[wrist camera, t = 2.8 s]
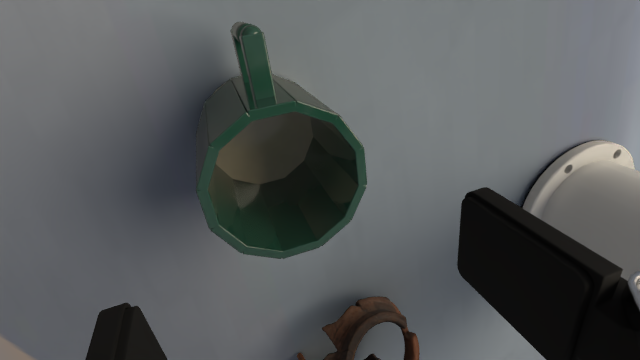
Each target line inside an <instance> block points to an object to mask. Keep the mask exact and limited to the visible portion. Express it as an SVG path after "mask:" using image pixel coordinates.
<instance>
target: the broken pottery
mask: <svg viewBox="0 0 640 360" xmlns="http://www.w3.org/2000/svg"><path fill="white" fill-rule="evenodd" d="M383 322H392V323H395V324H396V325H398V326H399V327H400V328H401V330H402V333H403V336H404V341H405V354H404V360H419V343H418V339H417V336H416V334H415V333H412V332H409V331H408V328H407V322H406V318H405V317H404V316H403V315H401V313H400V311H399V310H398V308H397V307H396V306H395V305H394V304H393V303H392V302H391V301H390V300H389V299H388V298H386V297H368V298H365V299H360V300H358V301H357V302H356V306H350V307H349V308H348V309H347V310H346V311H345V313H344V314H343V315H342V316H341V317H340V318H339V319H338V320H337V321H336V322H334V323H332V324H329V325H326V326H324V327H323V328H322V329H323V331H325V332H326V334H327V335H328V336H329V338H330V340H331V341H332V342H333V344H334V345H335V347H336V349H337V352H335V353H330V354H328V355H327V356H326V357H325V358H324V359H323V360H354V356H355V351H356V349H357V347H358V345H359V343H360V341H361V339H362V338H363V336H364V335H365V334H366V333H367V331H368V330H369V329H371V328H372V327H373V326H375V325H377V324H380V323H383ZM297 357H298V359H299V360H305V359H304V357H303V355H302V354H301V353H298V354H297ZM364 360H381V359H379V358H377V357H376V356H375V355H374V354H370V355H369V356H368V357H367V358H366V359H364Z"/></svg>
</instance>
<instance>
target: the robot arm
mask: <svg viewBox="0 0 640 360" xmlns="http://www.w3.org/2000/svg"><path fill="white" fill-rule="evenodd" d="M457 266H458V270H459V273H460V274H461V276H462V277H463V278H464V279H465V280H466V281H467V282H468V283H469V284H470V285H471V286H472V287H473V288H474V289H475V290H476V291H477V292H478V293H479V294H480V295H481V296H482V297H483V298H484V299H485V300H486V301H487V302H488V303H489V304H490V305H491V306H492V307H493V308H494V309H495V310H496V311H497V312H498V313H499V314H500V315H502V316H503V317H504V318H505V319H506V320H507V321H508V322H509V323H510V324H511V325H512V326H513V327H514V328H515V329H516V330H517V331H518V332H519V333H520V334H521V335H522V336H523V337H524V338H525V339H526V340H527V341H528V342H529V343H530V344H531V345H532V346H533V347H534V348H535V349H536V350H537V351H538V352H539V353H540V354H541V355H542V356H543V357H544V358H545V359H546V360H640V172H639V171H636V170H635V167H634V163H633V158H632V156H631V155H630V153H629V151H628V150H627V149H625V148H624V147H623V146H620V145H618V144H615V143H612V142H609V141H604V140H599V141H591V142H587V143H584V144H581V145H579V146H577V147H575V148H573V149H571V150H569V151H568V152H566V153H565V154H564V155H562V156H561V157H559V158H558V159H557V160H556V161H555V162H554V163H552V164H551V165H550V166H549V167H548V168H547V169H546V170H545V172H544V173H543V174H542V175H541V176H540V177H539V179H538V180H537V182H536V183H535V184H534V186H533V187H532V189H531V191H530V192H529V194H528V196H527V198H526V200H525V203H524V205H523V208H521V207H519V206H518V205H516V204H514V203H513V202H511V201H509V200H508V199H506V198H504V197H503V196H501V195H499V194H498V193H496V192H494V191H493V190H491V189H489V188H481V189H478V190H475V191H471V192H469V193H467V194H466V196H465V199H463V201H462V206H461V221H460V235H459V249H458V264H457ZM86 360H167V358H166V356H165V354H164V352H163V350H162V348H161V347H160V345H159V343H158V341H157V339H156V337H155V335H154V334H153V332H152V330H151V328H150V326H149V324H148V322H147V321H146V319H145V317H144V315H143V313H142V311H141V309H140V308H139V307H138V306H134V307H131V306H130V304H128V303H124V304H121V305H118V306H114V307H111V308H108V309H105V310H102V311H101V312H100V313H99V315H98V318H97V322H96V325H95V329H94V332H93V336H92V339H91V343H90V346H89V350H88V353H87V356H86Z"/></svg>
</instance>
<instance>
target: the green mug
mask: <svg viewBox="0 0 640 360" xmlns="http://www.w3.org/2000/svg"><path fill="white" fill-rule="evenodd" d="M230 31H231V35H232V40H233V44H234V48H235V52H236V57H237V61H238V65H239V69H240V74H241V76H238V77H234V78H231V79H229V80H228V81H227V82H226V83H224V84H223V85H222V86H220V87H219V88H218V89H217V90H216V91H215V92H214V93H213V94H212V95H211V96H210V97H209V98H208V99H207V100H206V101H205V103H204V105H203V109H202V113H201V117H200V120H199V124H198V128H197V131H196V192H197V195H198V198H199V201H200V204H201V207H202V210H203V213H204V215H205V218H206V221H207V224H208V227H209V229H210V230H211V231H212V232H213V233H215V234H216V235H217V236H219V237H220V238H221V239H223V240H224V241H225V242H227V243H228V244H229V245H231V246H232V247H233V248H235V249H236V250H238V251H239V252H240V253H242V252H243V254H247V255H255V256H262V257H270V258H277V259H281V258H283V259H284V258H287V257H290V256H294V255H297V254H300V253H303V252H306V251H310V250H313V249H316V248H319V247H320V246H323V245H324V244H325V243H326V242H327V241H328V240H329V239H331V238H332V237H333V236H334V235H335V234H336V233H338V232H339V231H340V230H341V229H342V228H343V227H345V226H346V225H347V224H348V223H349V222H350V220H352V218H353V216H354V213H355V211H356V209H357V207H358V204H359V202H360V200H361V198H362V196H363V193H364V191H365V189H366V185H367V178H366V165H365V153H364V147H363V145H362V143H361V142H360V141H359V140H358V138H357V137H356V136H355V134H354V133H353V132H352V131H351V129H350V128H349V127H348V125H347V124H346V123H345V122H344V120H343V119H342V118H341V116H340V115H338V114H337V113H335V112H334V111H333V110H331V109H330V108H329V107H327V106H326V105H325V104H323V103H322V102H321V101H319V100H318V99H317V98H315V97H314V96H313V95H311V94H310V93H309V92H307V91H306V90H304V89H303V88H302V87H300V86H299V85H298V84H296V83H295V82H292V81H290V80H287V79H284V78H281V77H278V76H276V75H273V74H272V73H271V67H270V62H269V57H268V52H267V47H266V42H265V37H264V33H263V32H261V30H260V29H259V28H258V27H257V26H255V25H251V24H248V23H244V22H236V23H235V24H234V25H233V26H232V29H231V30H230Z"/></svg>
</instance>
